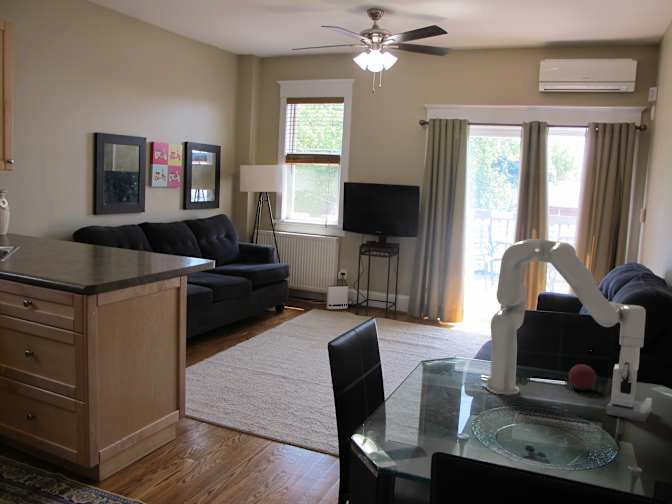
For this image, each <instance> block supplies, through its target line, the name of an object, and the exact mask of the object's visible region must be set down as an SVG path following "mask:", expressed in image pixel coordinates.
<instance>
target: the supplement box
mask: <svg viewBox="0 0 672 504" xmlns="http://www.w3.org/2000/svg"><path fill="white" fill-rule="evenodd" d="M618 368H619V363H617V364H616V363H615V364H614V367H613V372H612V383H611V385H612V386H611V396H610V397H611V398H610V401H611V403H612V404H618V405H623V406H628V407H633V406H634V400H635V397H636V389H637V388H636V387H637V380H638V379H637V378H638V370H636V371H635V372H634V375H632V376H631V382H630V383H631V393H630V394H626V393H621V392H620V388H621V379H622V373H623V371H622V373H619V372H618ZM628 373H630V371H628ZM628 377H629V376H628Z"/></svg>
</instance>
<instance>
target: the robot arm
mask: <svg viewBox="0 0 672 504" xmlns="http://www.w3.org/2000/svg"><path fill="white" fill-rule="evenodd" d="M535 261H536V262H542V263H549V264H551V265H552V266H553V268H554V269H555V270H556V271H557V272H558V273H559V275H560V276H561V277H562V278H563V279H564V280H565V282H566V283H567V284H568V286H569V287H570V288H571V289H572V290H573V293H574V294H575V295H576V297H577V298H578V300H579V301H580V303H581V304H582V306H583V307H584V308H585V310H586V311H587V312H588V313H589V315H590V316H591V317H592V318H593V319H594V321H595V322H596V323H597V324H599V325H600V326H602V327H605V328H610V327H613V326H614V327H615V325H616V324H617V323H619V324H620V325H619V326H620V328H619V340H618V342H619V343H618V344H619V345H620V346H621V347H620V351H619V352H620V353H619V361H618V364H619V368H618V372H619V373H622V371H623V373H622V379H621V388H620V392H621V393H626V394H630V393H631V383H630V382H631V376H632V375H634V372H635V371H636V370H637V371H638V370H639V366H640V365H639V364H640V350H641V348H643V347H644V339H645V326H646V316H647V315H646V314H647V313H646V308H645V307H644V306H641V305H638V304H637V305H635V304H623V303H619V302H614V301H609V300H608V299H607V298H606V297H605V296H604V294H602V292H601V290H600V289H599V286H598V285H597V282H596V279H595V277H594V275H593V273H592V272H591V271H590V270H589V269H588V267H586V265H585V264H584V263H583V262H582V260H580V258H579V257H578V256H577V251H576V249H575V248H574V246H573V245H572V244H570V243H568V242H563V241H562V242H561V241H560V242H559V241H553V240H546V239H539V238H529V239H524V240H521V241H518V242H515V243H513V244H511V245H510V246H509V247H508V248H506V250H505V251H504V252H503V254H502V257H501V261H500V268H499V269H500V270H499V276H498V281H497V282H498V283H497V288H496V289H497V291H496V299H497V303H499V305H500V310H498V311H497V312H496V313H495V314H494V315H493V316H492V318H491V322H490V336H491V338H490V339H491V340H490V341H491V344H490V345H491V349H490V351H491V352H490V374H489V376H488V375H483V374H481V375H480V381H481V382H483V383H486V385H485V389H486V388H487V389H488V390H490V391H492V392H495V393H499V394H505V395H504V396H514V395H518V394H519V393H520V387H518V386H517V385H516V382H517V381H516V378H517V375H516V374H517V356H518V355H517V354H518V339H517V330H518V329H520V327H521V326H522V325H523V324H524V321H525V320H524V319H525V312H526V305H527V295H528V294H527V288H526V286H525V284H524V283H523V277H524V266H525V265H526V264H527V263H531V262H532V263H533V262H535ZM628 371H630V373H628ZM628 376H629V377H628ZM499 394H498V395H499Z"/></svg>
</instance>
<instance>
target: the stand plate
mask: <svg viewBox="0 0 672 504" xmlns="http://www.w3.org/2000/svg"><path fill="white" fill-rule="evenodd" d="M605 412H606V413H605V414H606V415H610V416H613V417H614V416H615V417H617V418H618V417H619V418H624V419H628V420H633V421H637V422H642V423H645V422H646V421H647V419H648V417H649V416H650V414H651V413H650V412H652V398H651V397H646V398H645V400H644V401H639V400H635V399H634V406H633V407H628V406H623V405H618V404H612V403H611V400H610V401H609V403H607V404H606V411H605Z"/></svg>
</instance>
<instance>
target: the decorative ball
mask: <svg viewBox="0 0 672 504" xmlns="http://www.w3.org/2000/svg"><path fill="white" fill-rule="evenodd" d="M568 380H569V383H570V384H571V385H572V387H573V388H575V389H576V390H580V391H587V390H590V389H592V388H593V387H594V386H595V384H596V382H597V374H596V372H595V370H594V369H593V368H592V367H591V366H590V365H587V364H583V363H581V364H575V365H574V366H573V367H571V369H570V370H569V372H568Z"/></svg>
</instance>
